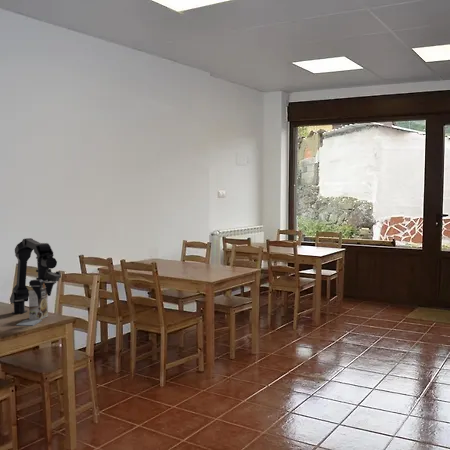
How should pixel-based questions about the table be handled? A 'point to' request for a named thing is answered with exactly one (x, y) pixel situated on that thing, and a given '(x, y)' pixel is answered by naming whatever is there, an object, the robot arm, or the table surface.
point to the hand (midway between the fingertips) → (44, 297)
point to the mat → (28, 322)
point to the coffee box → (38, 305)
